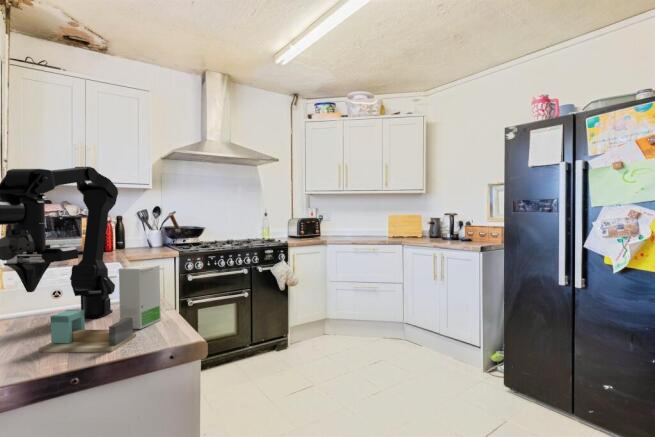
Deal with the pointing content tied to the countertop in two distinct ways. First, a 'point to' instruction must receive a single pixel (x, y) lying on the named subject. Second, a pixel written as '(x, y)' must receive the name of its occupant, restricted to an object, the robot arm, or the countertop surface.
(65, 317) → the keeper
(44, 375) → the countertop surface
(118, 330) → the board
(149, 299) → the skincare box
